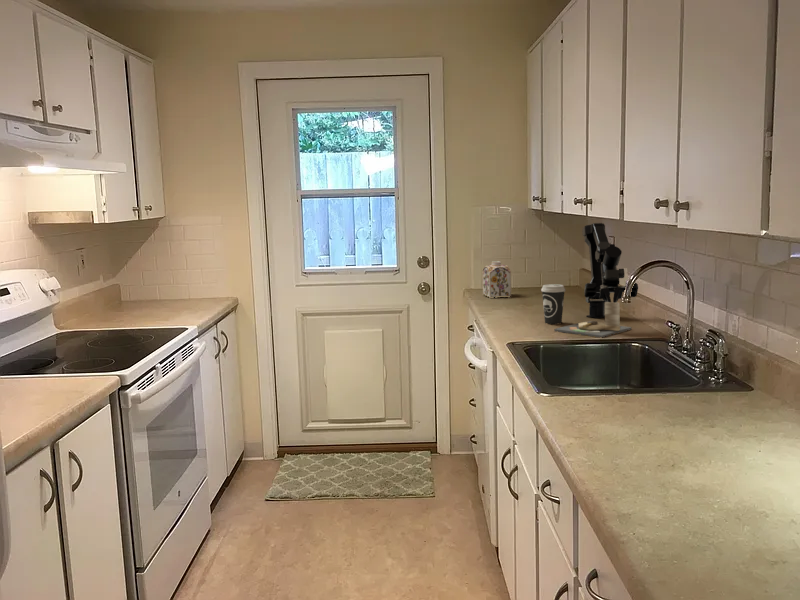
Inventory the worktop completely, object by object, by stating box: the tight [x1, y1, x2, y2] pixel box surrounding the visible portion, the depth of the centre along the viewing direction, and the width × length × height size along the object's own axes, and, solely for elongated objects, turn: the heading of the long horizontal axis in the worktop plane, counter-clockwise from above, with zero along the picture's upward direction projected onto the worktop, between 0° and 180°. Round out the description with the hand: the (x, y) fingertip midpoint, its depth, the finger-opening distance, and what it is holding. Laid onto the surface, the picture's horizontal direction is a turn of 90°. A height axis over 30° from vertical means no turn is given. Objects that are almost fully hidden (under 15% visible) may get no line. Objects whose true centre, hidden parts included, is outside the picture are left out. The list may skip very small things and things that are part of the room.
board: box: [554, 322, 632, 338], centre depth 257 cm, size 20×20×1 cm
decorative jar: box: [482, 260, 512, 297], centre depth 351 cm, size 12×12×18 cm
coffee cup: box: [540, 283, 567, 325], centre depth 274 cm, size 10×10×15 cm
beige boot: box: [578, 301, 621, 331], centre depth 252 cm, size 15×13×10 cm
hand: (612, 308), depth 251 cm, fingers closed
